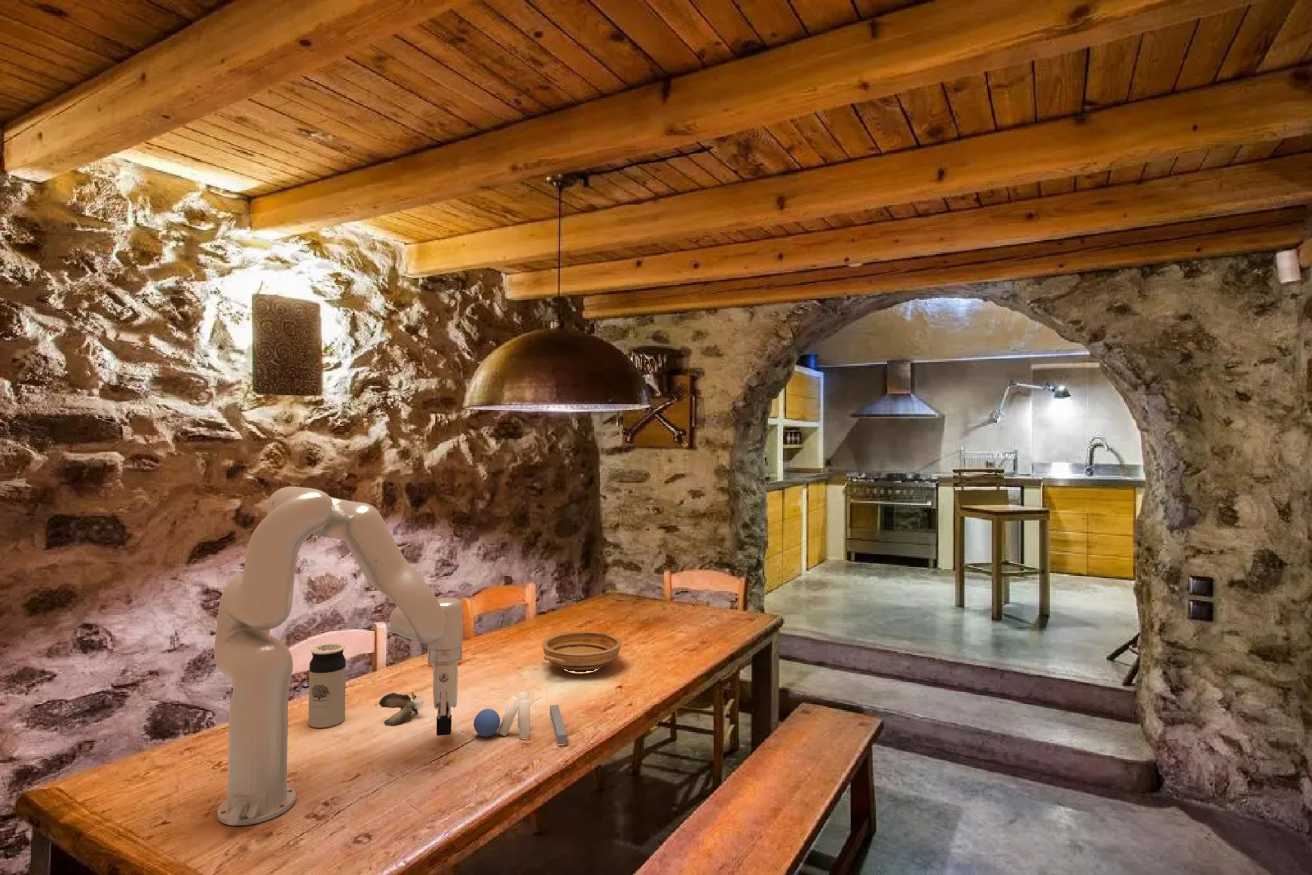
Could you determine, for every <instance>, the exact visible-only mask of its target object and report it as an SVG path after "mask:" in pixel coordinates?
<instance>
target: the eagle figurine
mask: <svg viewBox="0 0 1312 875" xmlns="http://www.w3.org/2000/svg"><path fill="white" fill-rule="evenodd" d="M378 704H379V706H381V708H388V709H396V708H397V709H400V710H399V711H397V712H396V713H394V714H393V715H392V716H390V717H389V718H387V719H386V720H384V721H383V724H385V725H384V726H389V727H391V726H395V725H397V724H399V723H401V722H402V721H403V720H404V719H406V718H410V716H412V715H413V713H415V715H417V714H418V715H419V710H420V709H422V706H423V704H424V699H423V698H422V697H421V696H420V695H419V696H417V695H416V694H415V693H414V692H411V696H410V695H408V694H400V693H396V692H391V693H388V694H386V695H383V697H381V699H380V700H379V702H378Z"/></svg>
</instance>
